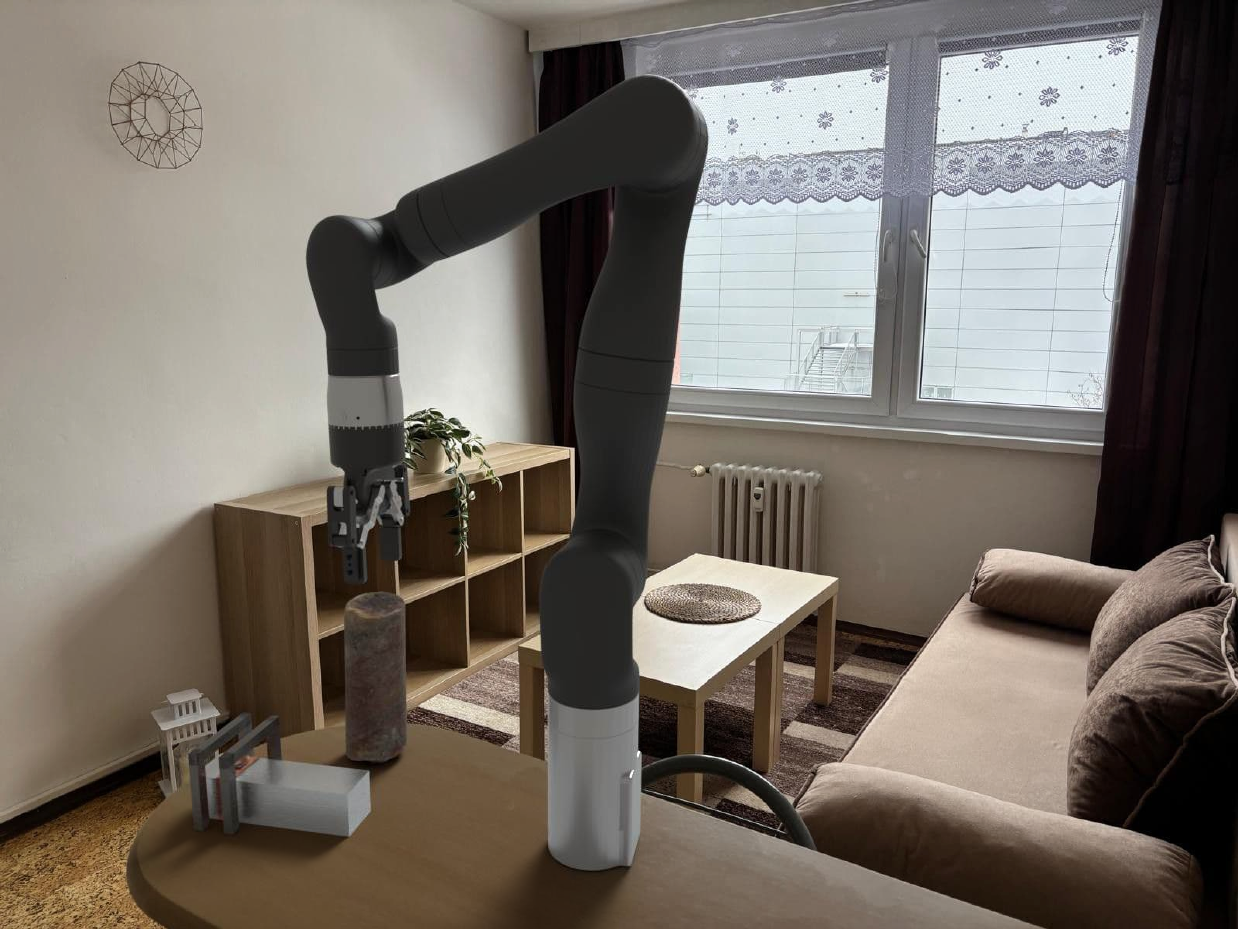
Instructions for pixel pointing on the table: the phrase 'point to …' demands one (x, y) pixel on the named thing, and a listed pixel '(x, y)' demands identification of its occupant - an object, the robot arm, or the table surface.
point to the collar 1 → (197, 765)
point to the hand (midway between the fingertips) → (374, 571)
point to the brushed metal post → (294, 795)
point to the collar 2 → (235, 753)
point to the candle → (375, 677)
